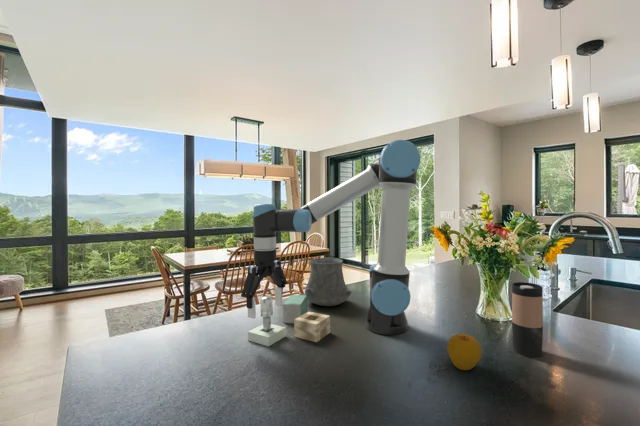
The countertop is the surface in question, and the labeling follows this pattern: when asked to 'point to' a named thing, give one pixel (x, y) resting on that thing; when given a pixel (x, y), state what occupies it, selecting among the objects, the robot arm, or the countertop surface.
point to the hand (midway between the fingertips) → (265, 311)
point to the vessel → (326, 282)
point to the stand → (266, 335)
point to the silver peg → (266, 312)
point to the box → (294, 308)
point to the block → (312, 326)
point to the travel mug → (527, 319)
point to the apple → (464, 351)
